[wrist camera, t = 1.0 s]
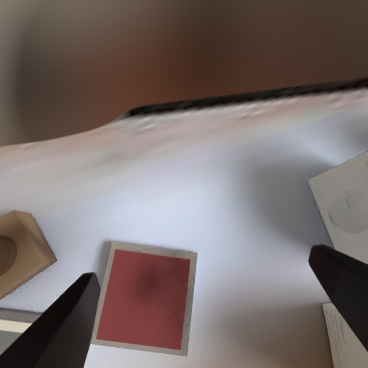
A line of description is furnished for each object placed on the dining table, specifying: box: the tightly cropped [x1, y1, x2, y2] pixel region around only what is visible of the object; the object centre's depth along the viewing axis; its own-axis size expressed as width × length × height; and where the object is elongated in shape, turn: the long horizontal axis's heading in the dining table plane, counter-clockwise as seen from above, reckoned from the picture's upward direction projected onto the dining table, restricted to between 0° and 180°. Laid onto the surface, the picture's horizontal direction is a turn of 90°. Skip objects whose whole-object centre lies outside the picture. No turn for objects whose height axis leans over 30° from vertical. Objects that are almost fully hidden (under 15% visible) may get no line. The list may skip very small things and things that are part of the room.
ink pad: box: [90, 242, 197, 356], centre depth 19 cm, size 9×9×2 cm
